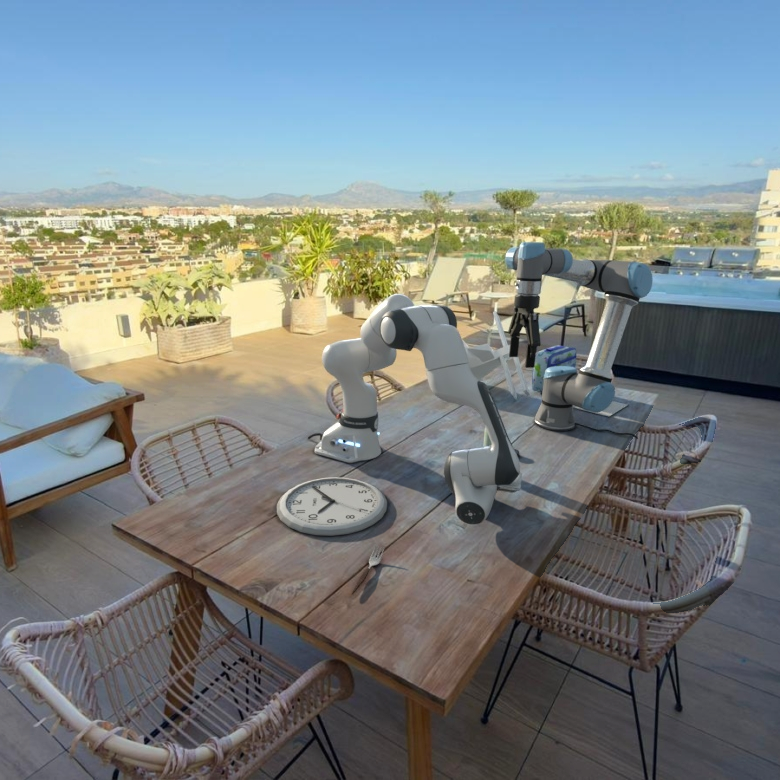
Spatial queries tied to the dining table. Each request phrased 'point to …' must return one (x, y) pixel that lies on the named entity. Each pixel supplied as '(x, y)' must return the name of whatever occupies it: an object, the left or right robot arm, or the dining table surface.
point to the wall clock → (331, 506)
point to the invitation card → (609, 409)
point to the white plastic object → (494, 360)
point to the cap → (517, 452)
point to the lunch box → (551, 363)
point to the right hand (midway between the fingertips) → (521, 361)
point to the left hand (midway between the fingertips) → (488, 464)
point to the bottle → (487, 438)
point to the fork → (372, 562)
